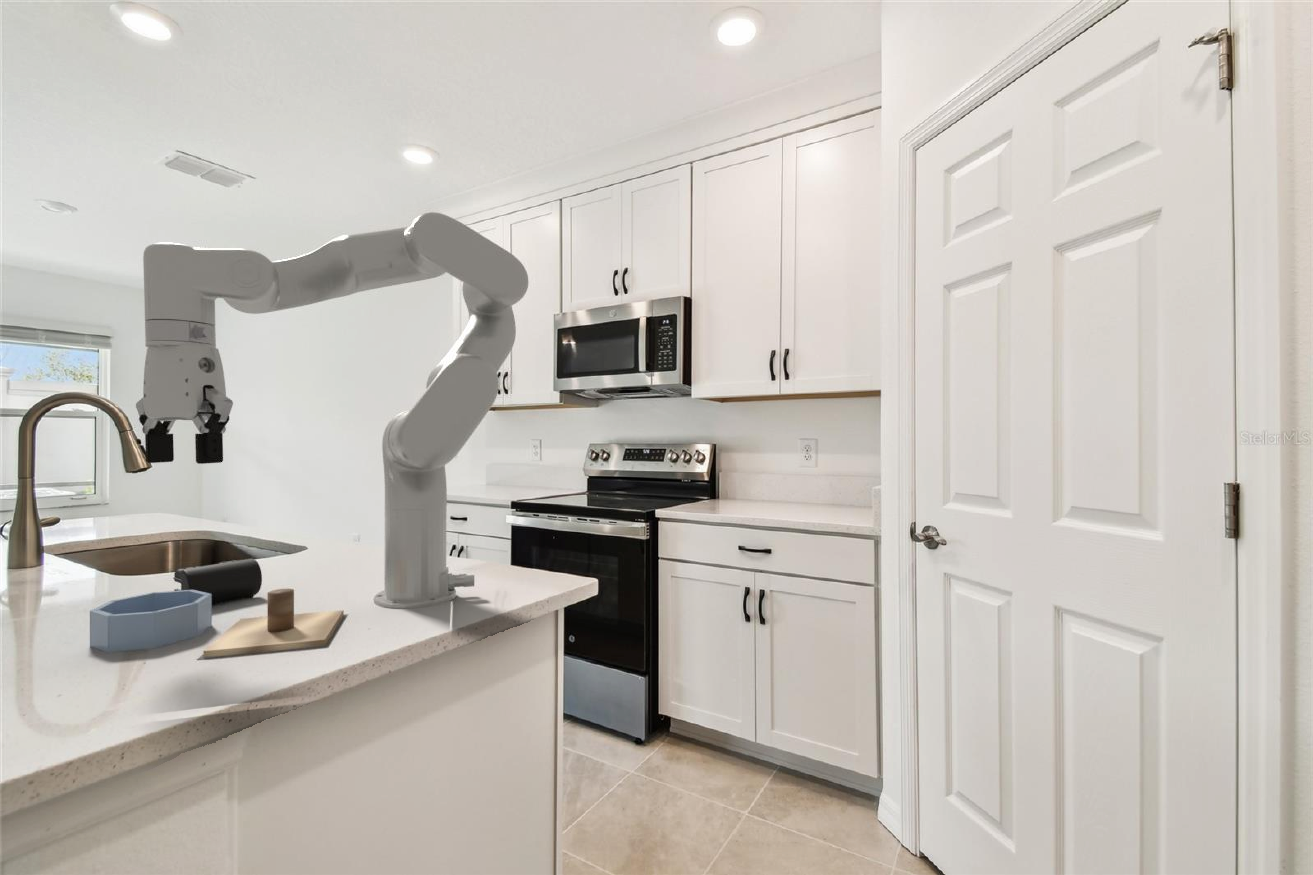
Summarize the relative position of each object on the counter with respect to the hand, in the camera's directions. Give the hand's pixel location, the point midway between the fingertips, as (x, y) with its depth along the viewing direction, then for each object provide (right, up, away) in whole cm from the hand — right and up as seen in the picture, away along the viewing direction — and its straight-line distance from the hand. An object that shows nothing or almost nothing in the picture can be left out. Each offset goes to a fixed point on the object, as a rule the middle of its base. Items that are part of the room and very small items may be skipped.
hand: (184, 462), depth 81 cm
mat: (+14, -24, -2) cm, 28 cm away
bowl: (-2, -24, -2) cm, 24 cm away
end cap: (-6, -24, +14) cm, 28 cm away
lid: (+14, -23, -2) cm, 27 cm away
